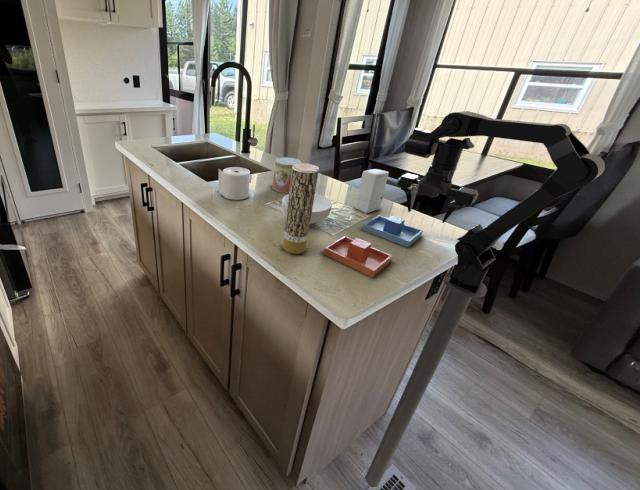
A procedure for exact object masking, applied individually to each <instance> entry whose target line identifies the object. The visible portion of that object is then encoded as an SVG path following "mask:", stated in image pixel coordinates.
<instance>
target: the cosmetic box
mask: <svg viewBox="0 0 640 490" xmlns="http://www.w3.org/2000/svg"><path fill="white" fill-rule="evenodd" d="M389 174H390V172H389V171H386V170H384V169H383V170H382V169H379V168H372V169H367V170H363V171H362V174H361V179H360V183H359V188H358V192H357V196H356V202H355V206H354V208H355V209H356V210H359V211H361V212H363V213H365V214H369V213H372V212H374V211H379V210H380V209H381V205H382V201H383V197H384V193H385V190H386V186H387V181H388V177H389Z"/></svg>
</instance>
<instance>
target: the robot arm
mask: <svg viewBox="0 0 640 490" xmlns="http://www.w3.org/2000/svg"><path fill="white" fill-rule="evenodd" d="M447 137H448V139H447V140H445V139H444V138H447ZM471 137H487V138H488V137H489V138H497V139H506V140H511V141H512V140H513V141H520V142H529V143H530V142H531V143H537V144H542V145H543V146H544V147H545V148H546V149H545V150H546V151H547V153H548V155H549V157H550V159H551V161H552V163H553V164H554V166H555V168H556V169H555V170H554V171H553V172H552V173H551V174H550V175H549V176H548V177H547V179H546V180H545V181H544V182H543V183H542V184H541V185H540V186H539V187H538V188H537V189H536V190H534V191H533V192H532V193H530V194H529V195H528V196H526V197H524V199H522V200H521V201H520V202H518V203H517V204H516V205H514V206H513V207H511V208H510V209H509V210H507V211H505V213H503V214H502V215H500V216H499V217H498V218H496V219H495V220H494V221H493V222H491V223H489V224H488V225H487V226H484V227H483V226H482V225H481V223H479V224H477V225H475V226H474V227H472V228H470V229H468V231H466V233H464V234H463V235H460V236H459V237H458V238H456V240H457V242H456V243H455V245H454V251H455V254H456V255H457V262H456V263H455V264H454V266H453V268H452V270H451V272H452V273H451V275H450V277H451V279H450V280H449V282H450V283H452V284H454V285H457V286H459V287H461V288H464V289H466V290H468V291H471V292H473V293H477V291H478V289H479V288H480V286H481V285H482V283H483V281H484V279H485V277H486V275H487V273H488V271H489V270H490V266H489V265H491V264H492V263H493V262H495V261H496V259H497V258H496V255H495V254H494V252H493V250H492V247H493V246H495V244H496V243H497V242H498V241H499V240H500V238H502V236H503V235H505V234H506V233H508V232H509V231H511V230H512V229H513V228H515V227H516V226H518V225H519V224H521V223H522V222H524V221H525V220H526V219H528V218H530V217H531V216H532V215H535V214H536V213H537V212H539V211H540V210H542V209H543V208H544V207H546V206H547V205H549V204H550V203H551V202H553V201H555V200H557V199H558V198H561V197H563V196H565V195H568V194H571V193H572V192H574V191H577V190H578V189H581V188H582V187H584V186H586V185H588V184H590V183H592V182H593V181H595V180H596V179H597V178H599V177H600V176H602V174H603V173H604V171H605V167H606V164H605V161H604V159H603V158H602V157H601V156H599V155H597V154H595V153H591V152H590V150H589V149H588V148H587V146H586V145H584V143H583V142H582V141H581V140H580V139H579V138H578V137H577V136H576V135H575V134H574V132H573V131H572V129H571V127H570V126H569V125H567V124H565V123H546V122H545V123H544V122H533V121H523V120H522V121H521V120H511V119H500V118H492V117H489V116H486V115H484V114H481V113H476V112H473V111H469V110H461V111H453V112H450V113H448V114H446V115H445V116H444V117H443V119H442V120H441V122H440V124H439V125H438V126H437V127H436V128H434V129H433V130H432V131H428V130H425V129H422V128H414V129H413V130H412V133H411V134H410V135H409V137H408V138H407V140H406V141H405V144H404V153H405V154H407V155H412V156H416V157H420V158H423V159H429V158H430V156H433V157H432V161H431V164H430V165H429V167H428V169H427V172H426V173H425V174H424V175H423V176H422V177H421V176H420V175H417V174H412V173H409V172H407V173H405V174H403V175H401V176H399V177H398V179H397V182H396V187H400V190H401V191H403V192H404V194H405V197H406V203H407V212H408V213H411V211H412V209H413V207H414V204H415V200H416V197H417V194H419V195H424V196H428V197H429V198H432V199H433V198H437V197H438V196H439V195H444V196H445V195H446V196H450V197H453V200H452V201H451V202H450V204H449V207H448V209H447V211H446V213H445V214H444V216H443V219H442V220H441V221H442V222H441V223H442V224H445V223H446V221H447V220H448V219H449V218H450V217H451V216H452V214H454V212H455V211H456V210H457V209H458V208H460V207H461V208H465V207H466V206H469V207H471V206H472V205H473V204H474V203H475V202H477V199H478V197H479V191H478V190H476V189H473V188H468V187H466V186H465V187H464V186H462V187H460V188H459V189H456V188H452V184H453V178H454V175H455V172H456V170H457V168H458V164H459V161H460V160H461V156H462V153H463V150H470V149H473V148H475V145H474V143H473V142H472V141H471ZM458 138H463V139H458Z"/></svg>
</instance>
